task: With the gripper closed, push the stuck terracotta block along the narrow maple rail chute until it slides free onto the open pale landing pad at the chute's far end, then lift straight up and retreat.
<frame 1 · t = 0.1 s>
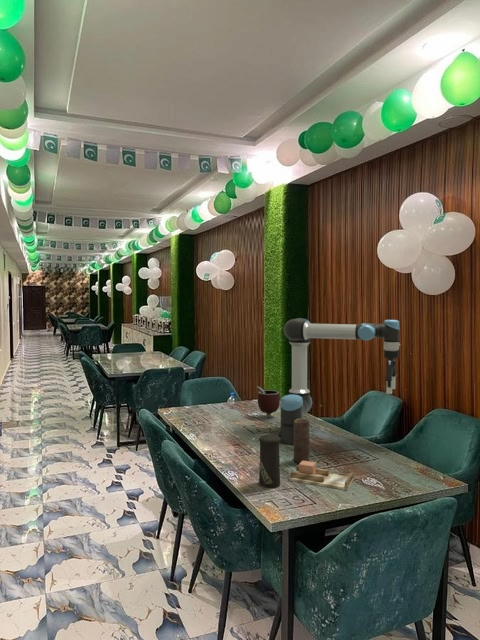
hand: (391, 391, 237), 28 cm above the table, fingers open, 13 cm apart
candle: (301, 462, 214), on the table
mate gourd: (267, 419, 292), on the table
block: (307, 469, 195), point 4 cm above the table, slide at 0.0 cm
chute: (321, 480, 192), on the table
container: (269, 484, 188), on the table
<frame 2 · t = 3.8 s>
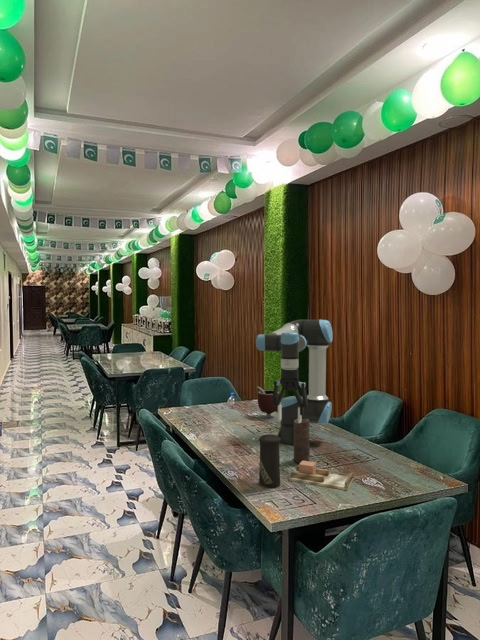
hand: (289, 421, 197), 23 cm above the table, fingers open, 8 cm apart
nothing on the table moved.
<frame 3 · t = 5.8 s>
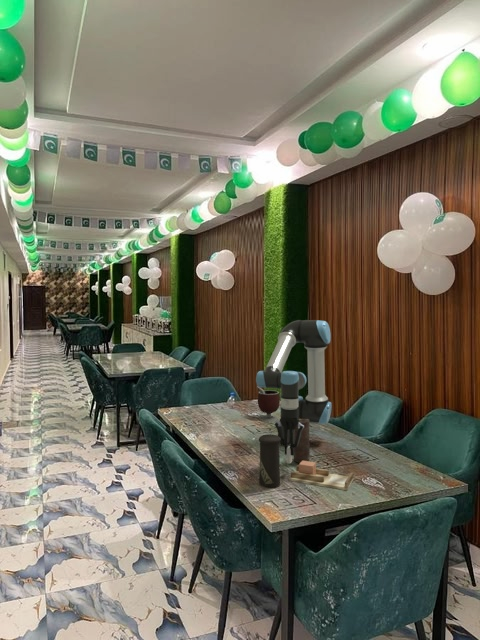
hand: (289, 462, 198), 6 cm above the table, fingers closed
nothing on the table moved.
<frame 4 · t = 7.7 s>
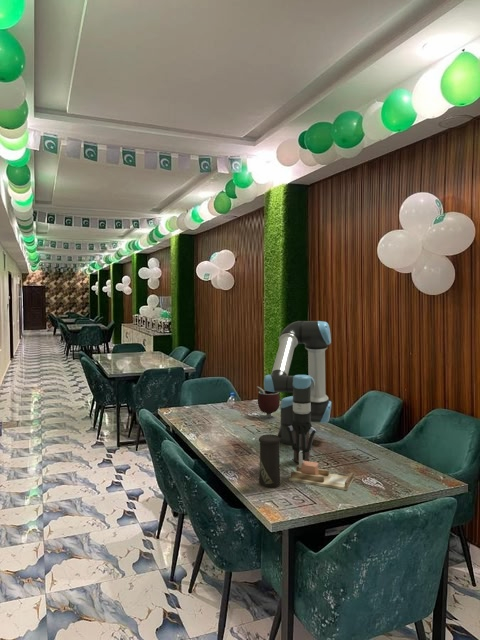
hand: (301, 466, 196), 4 cm above the table, fingers closed
block: (310, 469, 194), point 4 cm above the table, slide at 1.1 cm, touching gripper
everything else where it was.
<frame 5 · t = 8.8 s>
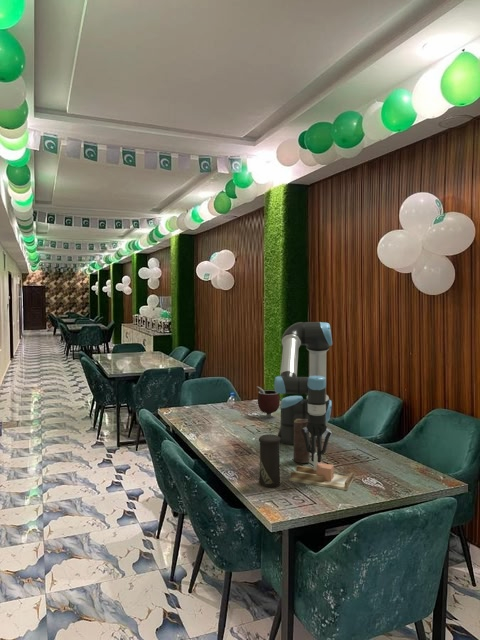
hand: (316, 469, 193), 4 cm above the table, fingers closed
block: (325, 471, 192), point 4 cm above the table, slide at 7.5 cm, touching gripper
everything else where it was.
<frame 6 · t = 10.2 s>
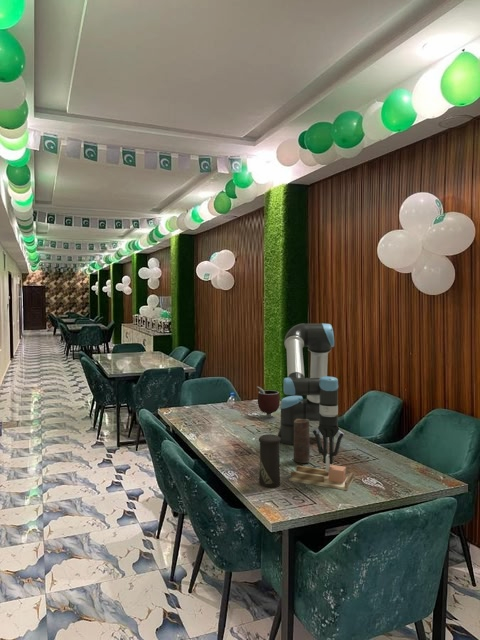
hand: (328, 471, 191), 4 cm above the table, fingers closed
block: (337, 473, 189), point 4 cm above the table, slide at 12.6 cm, touching gripper
everything else where it was.
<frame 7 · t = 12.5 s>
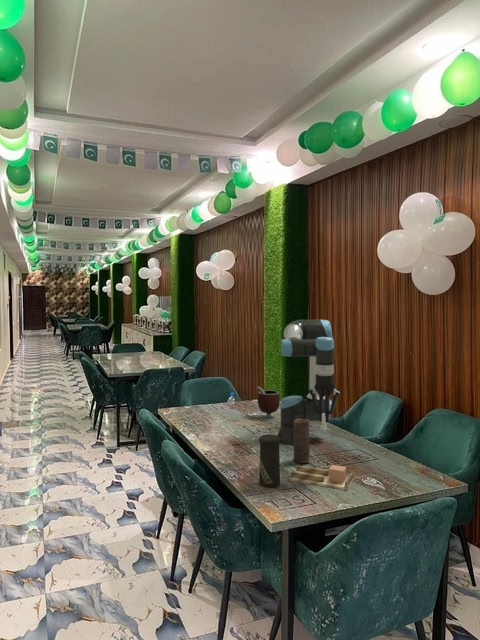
hand: (324, 429, 195), 20 cm above the table, fingers closed
block: (337, 473, 189), point 4 cm above the table, slide at 12.7 cm
everything else where it was.
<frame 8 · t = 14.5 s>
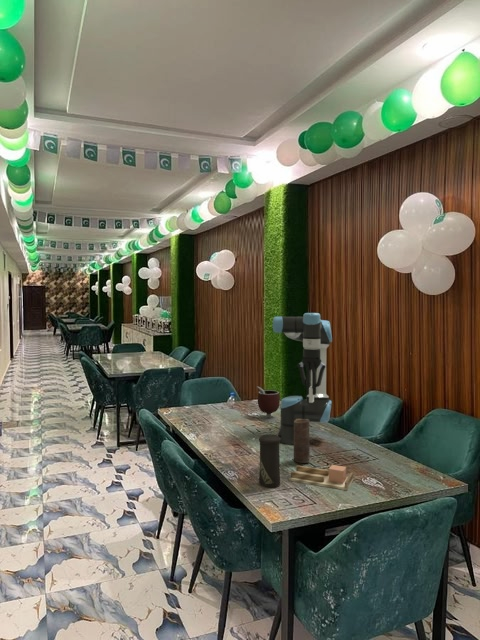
hand: (311, 401, 202), 30 cm above the table, fingers closed
nothing on the table moved.
at the end: block slide at 12.7 cm; the gripper is holding nothing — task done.
